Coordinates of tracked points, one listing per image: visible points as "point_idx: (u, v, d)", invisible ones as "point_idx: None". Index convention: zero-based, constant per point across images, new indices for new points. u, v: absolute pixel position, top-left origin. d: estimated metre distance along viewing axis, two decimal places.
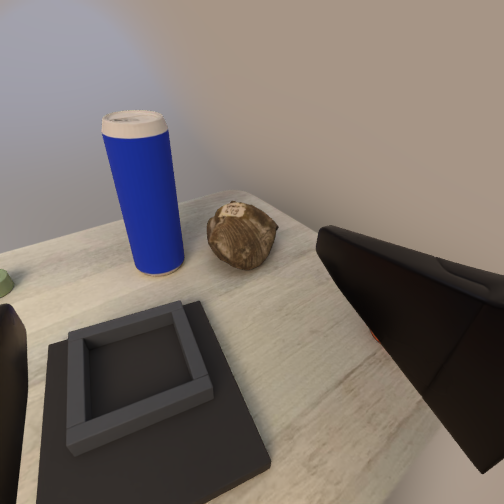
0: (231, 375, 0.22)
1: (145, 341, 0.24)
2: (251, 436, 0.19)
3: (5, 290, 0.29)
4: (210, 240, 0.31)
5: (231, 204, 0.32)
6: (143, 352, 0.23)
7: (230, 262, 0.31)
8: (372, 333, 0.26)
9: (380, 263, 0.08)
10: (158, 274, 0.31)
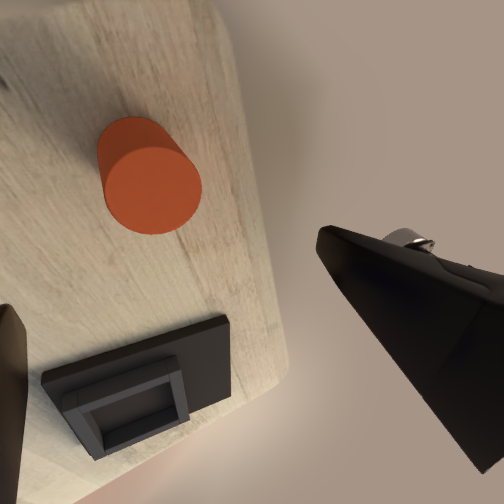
0: (159, 346, 0.24)
1: (101, 407, 0.25)
2: (211, 332, 0.26)
3: None
4: None
5: None
6: (114, 404, 0.26)
7: None
8: None
9: (380, 263, 0.08)
10: None
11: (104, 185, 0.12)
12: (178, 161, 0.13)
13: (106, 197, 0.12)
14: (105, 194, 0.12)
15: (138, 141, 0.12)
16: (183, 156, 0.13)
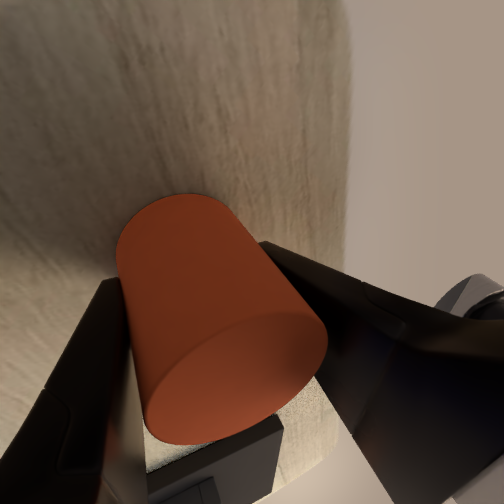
0: (192, 473, 0.17)
1: None
2: (260, 443, 0.19)
3: None
4: None
5: None
6: None
7: None
8: None
9: (303, 287, 0.07)
10: None
11: (145, 400, 0.05)
12: (299, 327, 0.06)
13: (148, 420, 0.05)
14: (146, 416, 0.05)
15: (217, 290, 0.06)
16: (310, 316, 0.06)
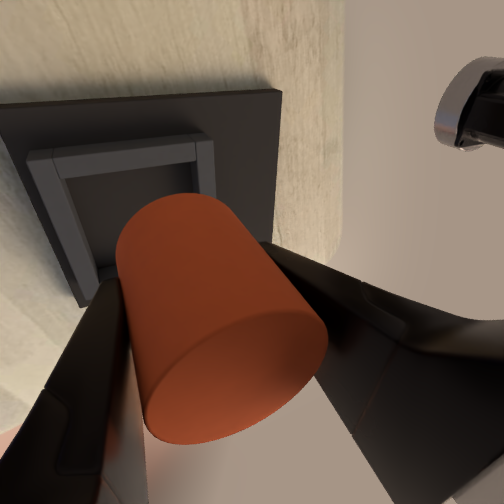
0: (180, 99, 0.16)
1: (94, 208, 0.17)
2: (256, 102, 0.17)
3: None
4: None
5: None
6: (113, 210, 0.17)
7: None
8: None
9: (303, 287, 0.07)
10: None
11: (144, 399, 0.05)
12: (299, 326, 0.06)
13: (148, 420, 0.05)
14: (146, 415, 0.05)
15: (217, 289, 0.06)
16: (311, 315, 0.06)
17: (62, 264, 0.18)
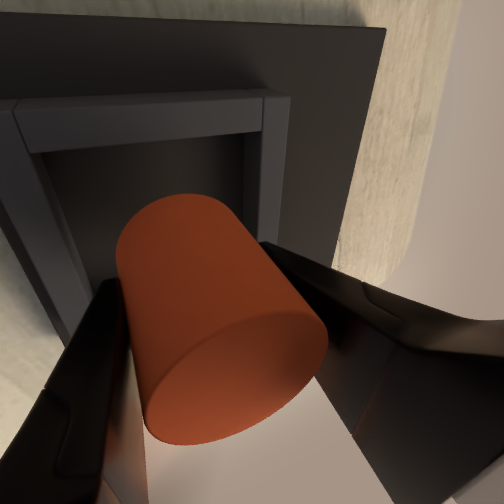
0: (239, 26, 0.09)
1: (91, 207, 0.10)
2: (348, 43, 0.11)
3: None
4: None
5: None
6: (123, 210, 0.11)
7: None
8: None
9: (303, 287, 0.07)
10: None
11: (144, 400, 0.05)
12: (299, 327, 0.06)
13: (148, 421, 0.05)
14: (146, 416, 0.05)
15: (218, 290, 0.06)
16: (311, 316, 0.06)
17: (41, 295, 0.11)
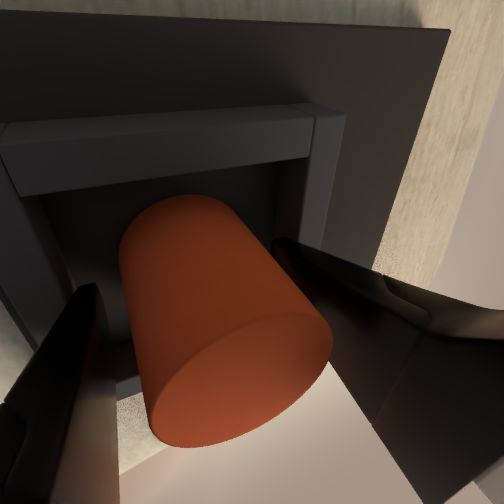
0: (284, 27, 0.07)
1: (98, 249, 0.08)
2: (407, 48, 0.09)
3: None
4: None
5: None
6: None
7: None
8: None
9: (325, 281, 0.08)
10: None
11: (150, 403, 0.05)
12: (305, 328, 0.06)
13: (153, 423, 0.05)
14: (151, 419, 0.05)
15: (223, 292, 0.06)
16: (316, 317, 0.06)
17: None
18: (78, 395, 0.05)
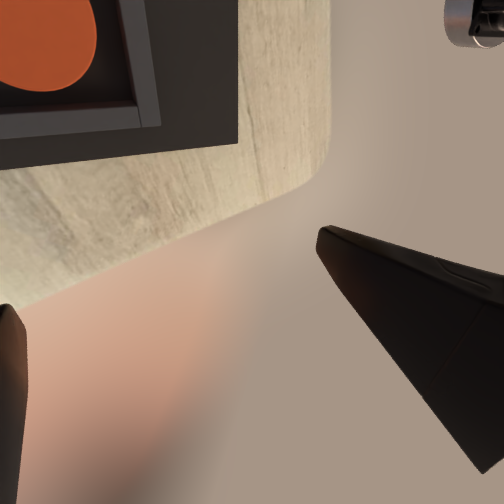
0: None
1: None
2: None
3: None
4: None
5: None
6: None
7: None
8: None
9: (380, 263, 0.08)
10: None
11: None
12: None
13: None
14: None
15: None
16: None
17: None
18: None
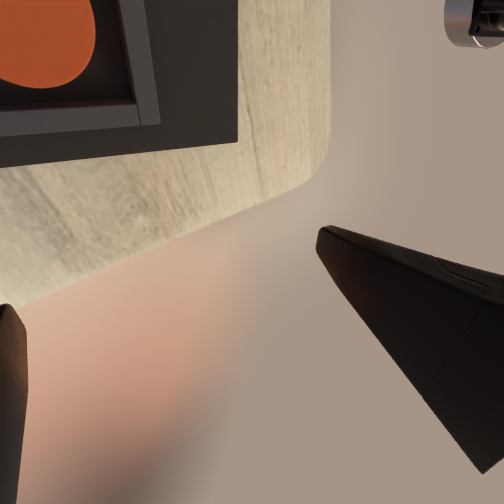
0: None
1: None
2: None
3: None
4: None
5: None
6: None
7: None
8: None
9: (380, 263, 0.08)
10: None
11: None
12: None
13: None
14: None
15: None
16: None
17: None
18: None
